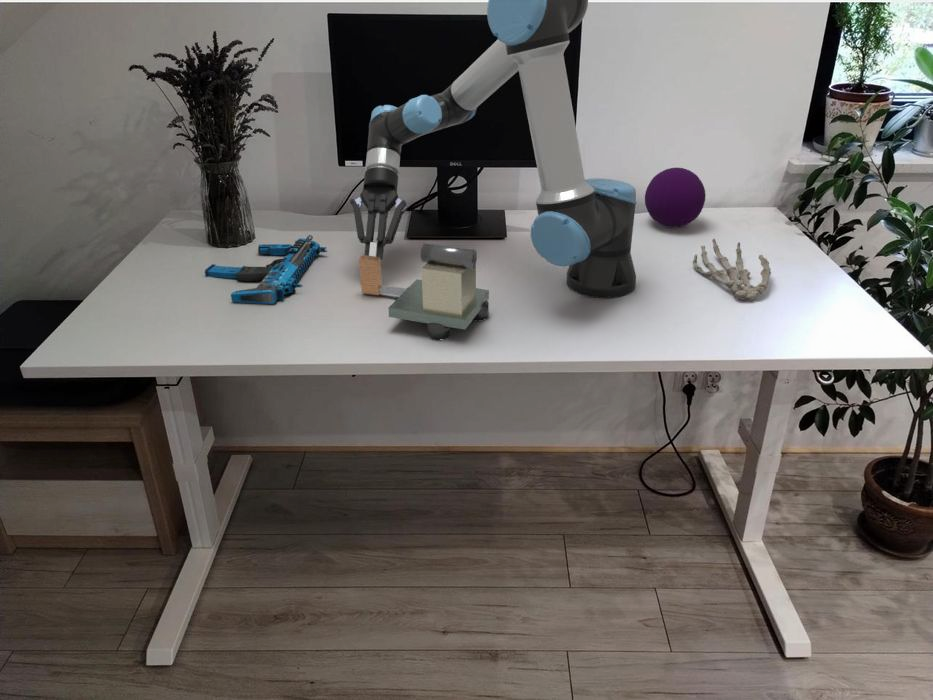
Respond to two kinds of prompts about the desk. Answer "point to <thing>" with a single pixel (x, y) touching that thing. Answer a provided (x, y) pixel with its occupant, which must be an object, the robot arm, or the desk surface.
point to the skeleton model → (735, 274)
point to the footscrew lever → (375, 277)
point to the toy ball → (675, 197)
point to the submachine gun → (271, 271)
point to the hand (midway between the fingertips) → (372, 272)
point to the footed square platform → (444, 292)
